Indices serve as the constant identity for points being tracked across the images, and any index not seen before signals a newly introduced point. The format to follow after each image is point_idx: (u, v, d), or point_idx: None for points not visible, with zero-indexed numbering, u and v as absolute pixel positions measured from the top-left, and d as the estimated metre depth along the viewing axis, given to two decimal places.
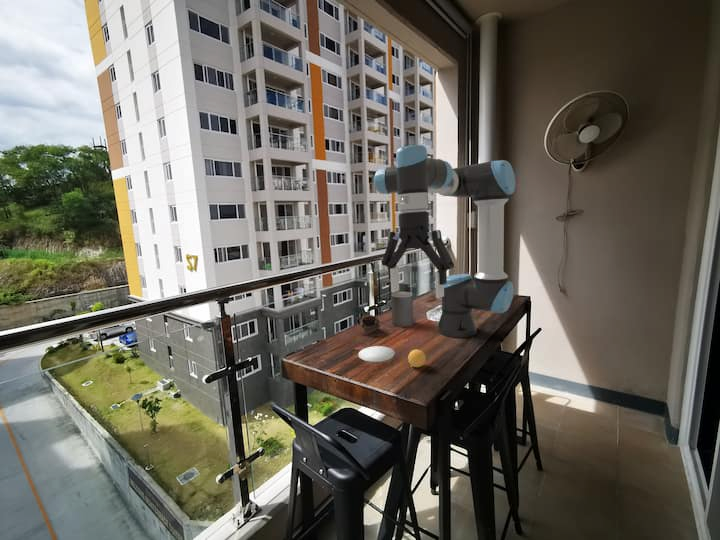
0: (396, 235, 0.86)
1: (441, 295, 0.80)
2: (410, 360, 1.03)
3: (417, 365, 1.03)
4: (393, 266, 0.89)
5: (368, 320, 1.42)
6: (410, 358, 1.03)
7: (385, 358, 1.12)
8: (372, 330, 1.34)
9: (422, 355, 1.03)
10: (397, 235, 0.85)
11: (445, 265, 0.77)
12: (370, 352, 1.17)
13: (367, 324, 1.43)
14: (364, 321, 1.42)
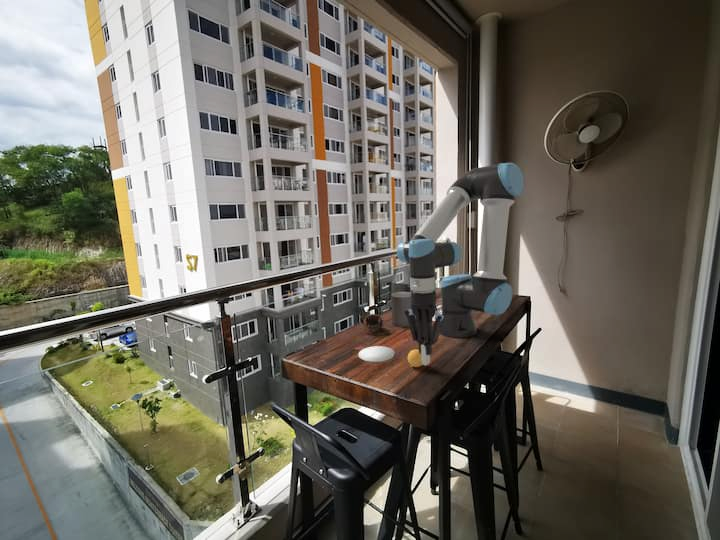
0: (410, 311, 1.03)
1: (428, 362, 1.02)
2: (409, 360, 1.03)
3: (416, 365, 1.03)
4: (423, 340, 1.02)
5: (371, 319, 1.43)
6: (409, 358, 1.03)
7: (385, 358, 1.12)
8: (376, 329, 1.35)
9: None
10: (411, 311, 1.03)
11: (431, 341, 0.98)
12: (370, 352, 1.17)
13: (370, 323, 1.44)
14: (367, 320, 1.43)
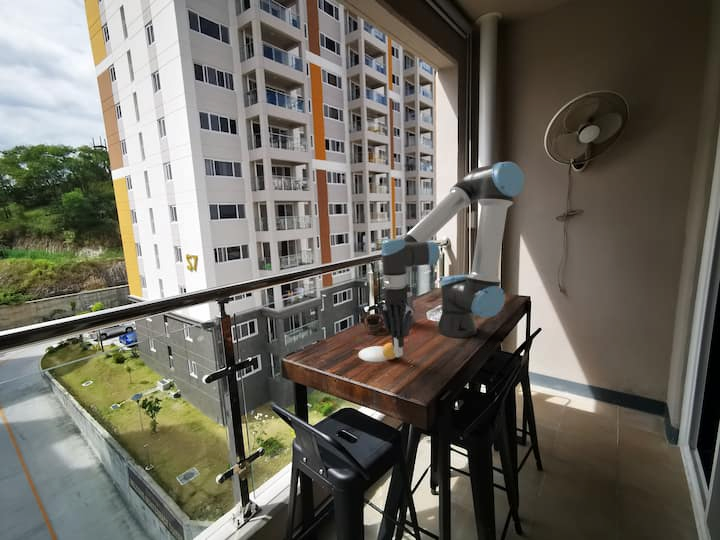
0: (384, 306, 1.10)
1: (400, 354, 1.09)
2: (385, 355, 1.10)
3: (391, 352, 1.09)
4: (396, 334, 1.09)
5: (372, 319, 1.44)
6: (383, 354, 1.10)
7: (385, 358, 1.12)
8: (377, 329, 1.36)
9: (388, 343, 1.11)
10: (384, 306, 1.09)
11: (403, 334, 1.05)
12: (370, 352, 1.17)
13: (371, 323, 1.44)
14: (368, 320, 1.43)
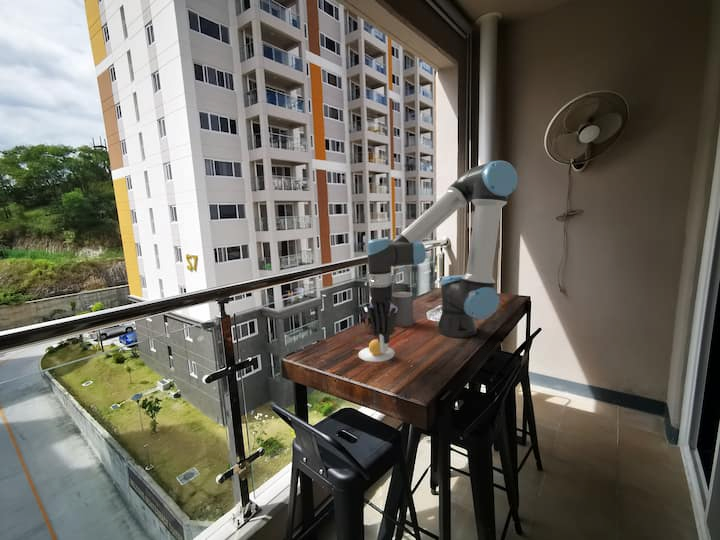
0: (370, 304, 1.14)
1: (386, 350, 1.13)
2: (372, 351, 1.14)
3: (376, 346, 1.13)
4: (382, 330, 1.13)
5: None
6: (370, 351, 1.14)
7: (385, 358, 1.12)
8: None
9: (372, 340, 1.16)
10: (371, 304, 1.14)
11: (387, 330, 1.09)
12: (370, 352, 1.17)
13: None
14: (369, 320, 1.43)
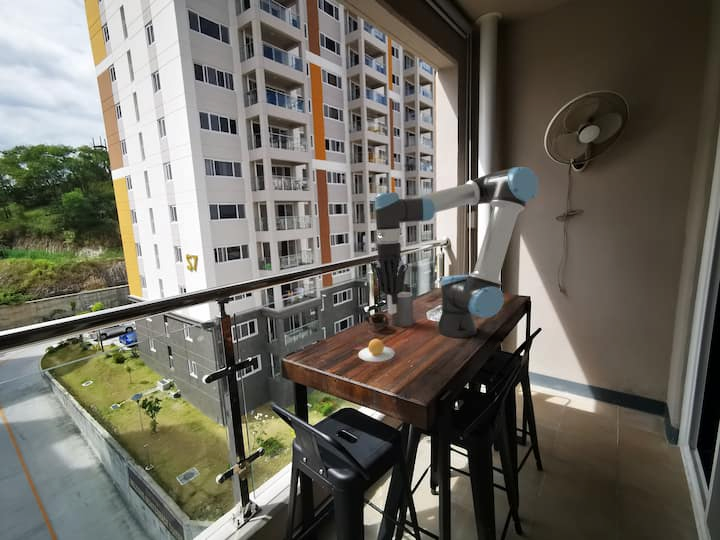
0: (378, 264, 1.09)
1: (394, 312, 1.08)
2: (371, 351, 1.14)
3: (375, 345, 1.13)
4: (389, 291, 1.08)
5: (376, 318, 1.45)
6: (370, 350, 1.15)
7: (385, 358, 1.12)
8: (382, 327, 1.37)
9: (372, 340, 1.16)
10: (378, 263, 1.09)
11: (396, 290, 1.04)
12: (370, 352, 1.17)
13: (375, 322, 1.46)
14: (373, 319, 1.44)
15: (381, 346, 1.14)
